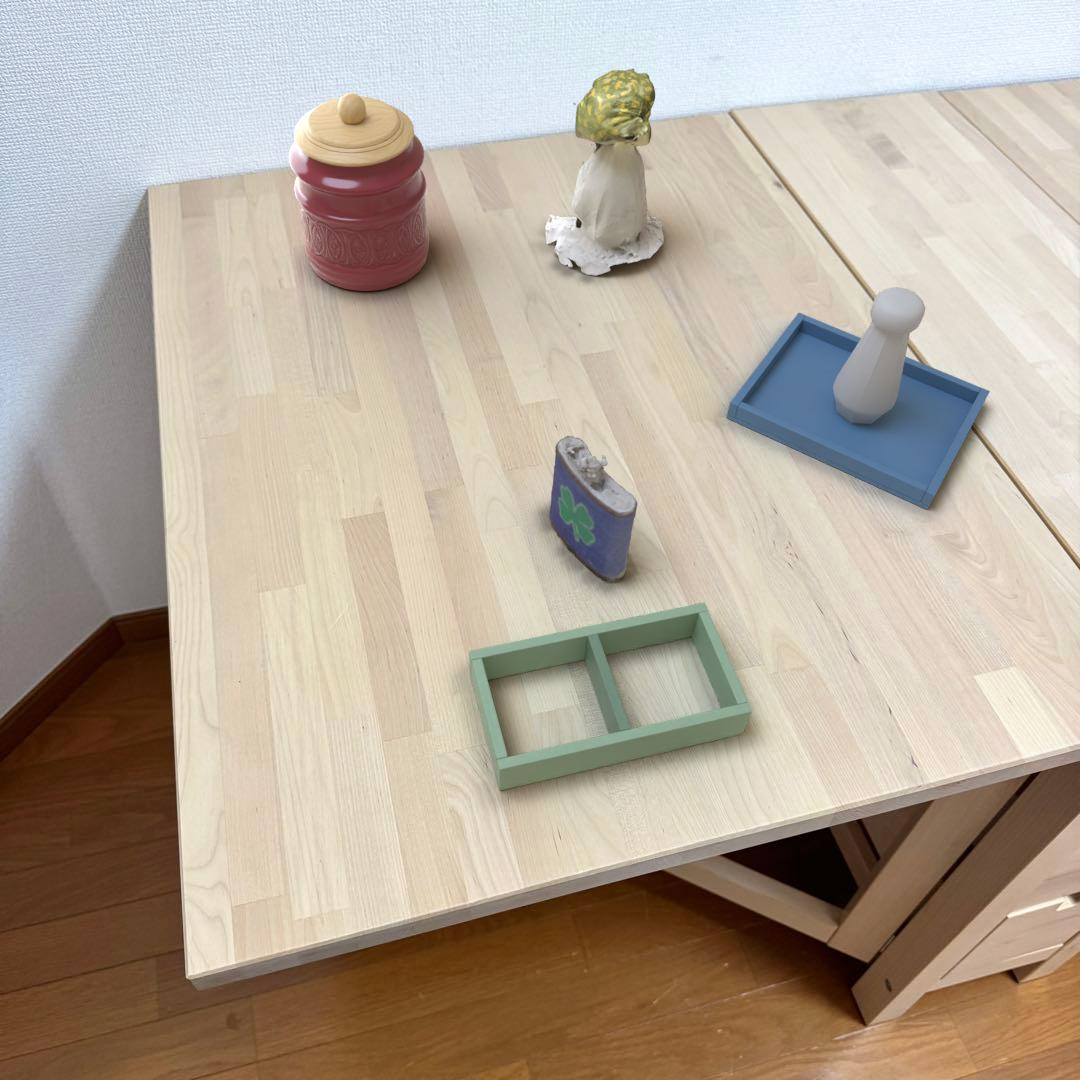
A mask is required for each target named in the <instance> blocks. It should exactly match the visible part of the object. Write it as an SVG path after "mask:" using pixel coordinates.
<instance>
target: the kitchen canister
mask: <svg viewBox="0 0 1080 1080" xmlns="http://www.w3.org/2000/svg"><path fill="white" fill-rule="evenodd" d="M293 138H294V142H293V144H292V145H291V147H290V150H289V154H288V162H289V166H290V168H291V170H292V171H293V173H294V174H295V176H296V178H295V181H294V187H293V188H294V189H293V190H294V196H295V199H296V201H297V203H298V207H299V213H300V219H301V224H302V230H303V246H304V252H305V255H306V257H307V259H308V261H309V264H310V266H311V268H312V270H313V271H314V273H315V274H316V275H317V276H318V277H319V278H320V279H322V280H323V281H325V282H326V283H328V284H331V285H333V286H335V287H338V288H341V289H345V290H350V291H359V292H371V291H372V292H373V291H380V290H386V289H387V290H388V289H390V288H393V287H396V286H399V285H402V284H404V283H405V282H407V281H409V280H411V279H412V278H413V277H415V276H416V275H417V274H418V273H419V272H420V271H421V270H422V269H423V267H424V266H425V264H426V262H427V260H428V253H429V249H430V232H429V231H430V230H429V227H428V224H427V206H426V190H427V179H426V176H425V174H424V172H423V170H422V169H421V168H422V166H423V163H424V160H425V149H424V146H423V143H422V142H421V140H420V138H419V137H418V136H417V135H416V134H415V127H414V124H413V121H412V120H411V118H410V117H409V116H408V115H407V114H406V113H405V112H404V111H402V110H401V109H399V108H397V107H396V106H393V105H390V104H389V103H387V102H384V101H382V100H380V99H378V98H374V97H368V96H360V95H358V94H356V93H355V92H354V93H353V92H349V93H345V94H343V95H342V96H341V97H336V98H332V99H329V100H327V101H324V102H322V103H321V104H318V105H317V106H316V107H314V108H312V109H311V110H309V111H308V112H307V113H305V114H304V115H303V116H302V117H301V118H300V119H299V120H298V121H297V123H296V125H295V127H294V131H293Z"/></svg>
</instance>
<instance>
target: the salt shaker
mask: <svg viewBox="0 0 1080 1080" xmlns="http://www.w3.org/2000/svg"><path fill="white" fill-rule="evenodd" d="M925 313H926V306H925V303H924V300H923V299H922V297H920V296H919V295H918V294H917V293H916V292H914V291H913V290H910V289H908V288H905V287H900V286H895V287H888V288H885V289H883V290H881V291H879V292H878V293H877V294H876V296H875V298H874V299H873V302H872V304H871V308H870V313H869V314H870V319H871V322H870V324H869V326H868V327H867V328H866V330H865V332H864V333H863V334H862V336H861V337H860V338H861V339H860V341H859V343H858V344H857V346H856V347H855V349H854V350H853V352H852V354H851V355H850V357H849V358H848V360H847V361H846V363H845V365H844V366H843V368H842V369H841V371H840V372H839V374H838V375H837V378H836V380H835V382H834V384H833V392H834V396H835V402H836V409H837V412H838V413H839V414H840V415H841V416H843V417H844V418H845V419H847V420H848V421H849V422H851V423H857V424H872V423H873V422H874V421H875V420H877V419H878V418H879V417H881V416H882V415H883V414H885V413H886V412H888V411H889V410H891V409H892V407H893V406H894V404H895V402H896V400H897V397H898V393H899V387H900V382H901V377H902V372H903V367H904V361H905V356H906V355H907V351H908V345H909V339H910V334H911V333H912V332H914V331H915V330H917V329H918V328H919V327H920V325H921V323H922V321H923V318H924V316H925ZM906 357H907V356H906Z"/></svg>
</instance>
